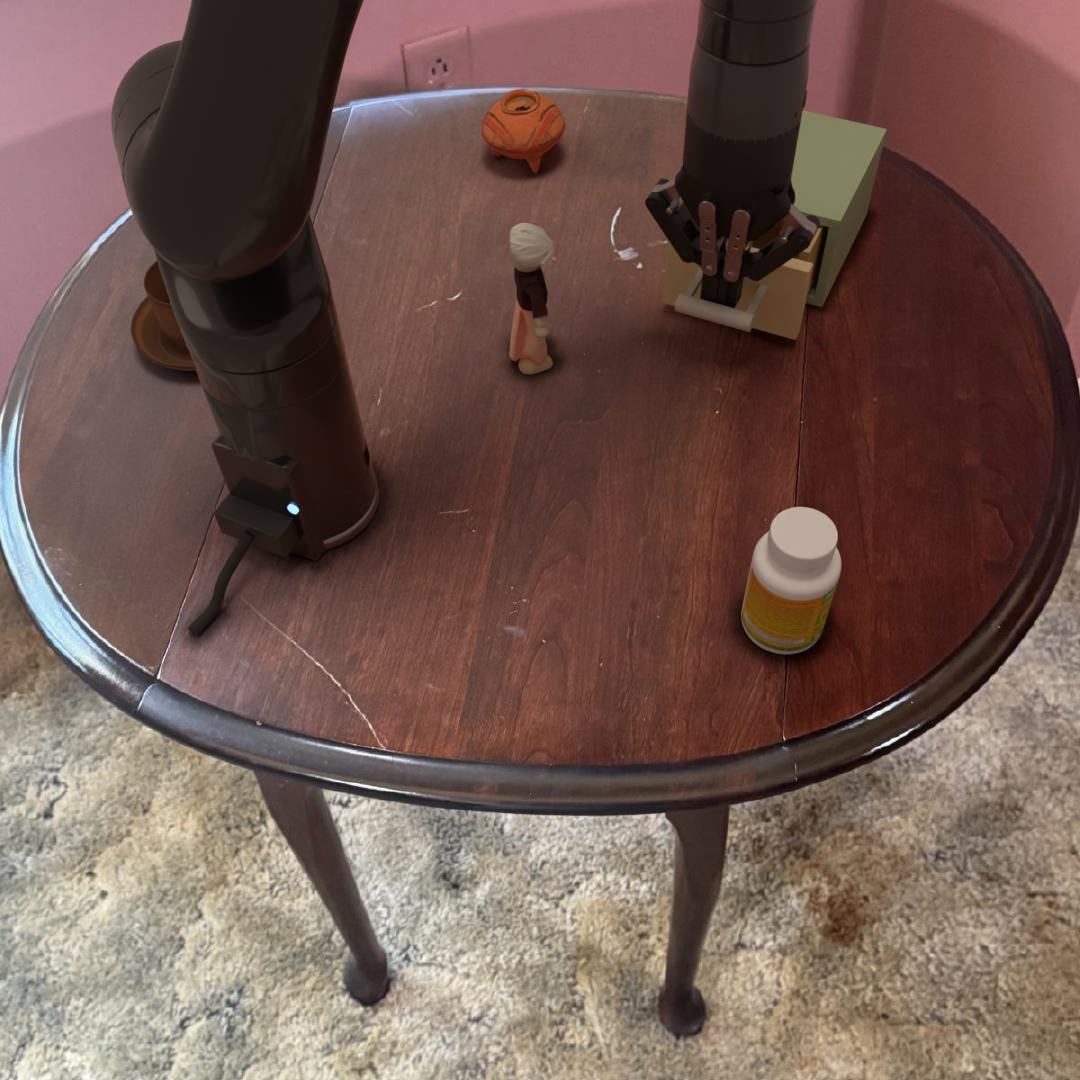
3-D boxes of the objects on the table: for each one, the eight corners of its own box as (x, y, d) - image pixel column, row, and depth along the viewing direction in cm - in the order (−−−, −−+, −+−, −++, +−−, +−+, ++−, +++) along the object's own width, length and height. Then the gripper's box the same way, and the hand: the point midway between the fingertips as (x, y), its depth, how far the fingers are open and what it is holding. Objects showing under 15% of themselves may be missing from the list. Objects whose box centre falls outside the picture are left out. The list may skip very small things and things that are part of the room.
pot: (585, 162, 105) (570, 104, 100) (512, 200, 105) (493, 143, 99) (552, 117, 110) (536, 59, 104) (482, 153, 110) (461, 96, 104)
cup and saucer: (109, 338, 93) (83, 280, 88) (224, 268, 98) (205, 209, 93) (196, 406, 88) (173, 348, 83) (312, 328, 93) (297, 268, 88)
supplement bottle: (820, 663, 71) (849, 574, 64) (736, 650, 72) (754, 561, 65) (824, 595, 75) (852, 503, 67) (744, 583, 75) (762, 491, 68)
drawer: (775, 380, 86) (788, 312, 81) (639, 339, 89) (643, 272, 84) (840, 249, 95) (855, 180, 90) (714, 217, 99) (722, 149, 93)
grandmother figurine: (494, 335, 91) (483, 205, 81) (538, 323, 92) (532, 192, 82) (527, 397, 87) (520, 267, 77) (573, 384, 88) (571, 253, 78)
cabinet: (821, 307, 92) (840, 221, 85) (679, 269, 96) (686, 183, 89) (866, 215, 100) (887, 128, 93) (732, 182, 103) (743, 96, 96)
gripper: (629, 111, 73) (622, 315, 86) (827, 156, 69) (786, 362, 83) (671, 55, 77) (658, 258, 90) (859, 95, 73) (816, 300, 87)
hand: (719, 308), depth 86 cm, fingers closed
